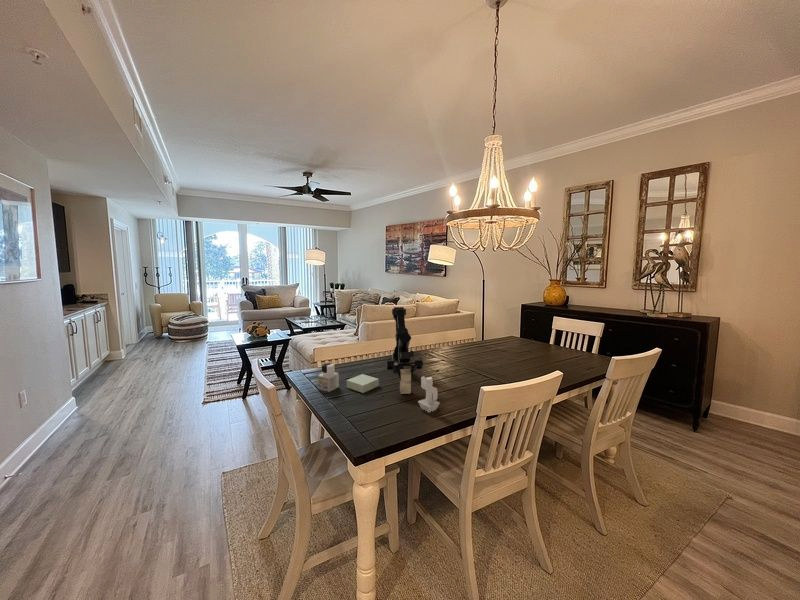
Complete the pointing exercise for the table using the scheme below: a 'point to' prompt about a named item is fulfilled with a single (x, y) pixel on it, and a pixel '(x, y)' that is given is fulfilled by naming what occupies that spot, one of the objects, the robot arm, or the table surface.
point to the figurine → (429, 395)
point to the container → (328, 378)
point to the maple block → (405, 381)
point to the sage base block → (362, 383)
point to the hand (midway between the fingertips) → (405, 380)
